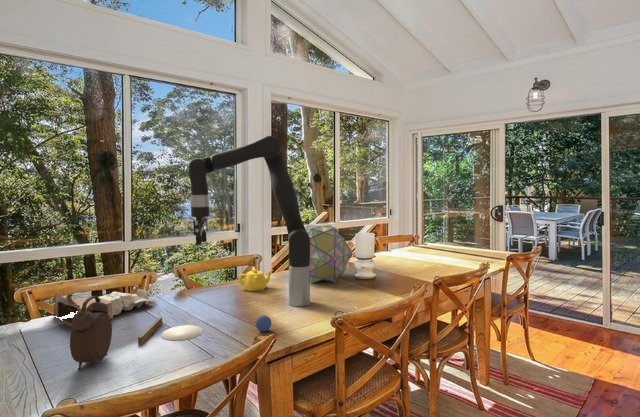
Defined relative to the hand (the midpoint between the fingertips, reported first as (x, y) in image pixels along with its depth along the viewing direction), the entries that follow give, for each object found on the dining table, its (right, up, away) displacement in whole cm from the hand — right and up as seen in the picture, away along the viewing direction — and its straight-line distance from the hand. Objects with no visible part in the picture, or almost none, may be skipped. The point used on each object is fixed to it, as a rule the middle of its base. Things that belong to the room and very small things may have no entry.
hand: (201, 243), depth 171 cm
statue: (-36, -29, -10) cm, 47 cm away
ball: (+30, -27, -27) cm, 48 cm away
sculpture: (+51, -25, +49) cm, 75 cm away
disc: (+1, -30, -28) cm, 41 cm away
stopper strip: (-10, -30, -29) cm, 42 cm away
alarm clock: (-17, -32, -52) cm, 63 cm away
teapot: (+18, -26, +32) cm, 45 cm away
